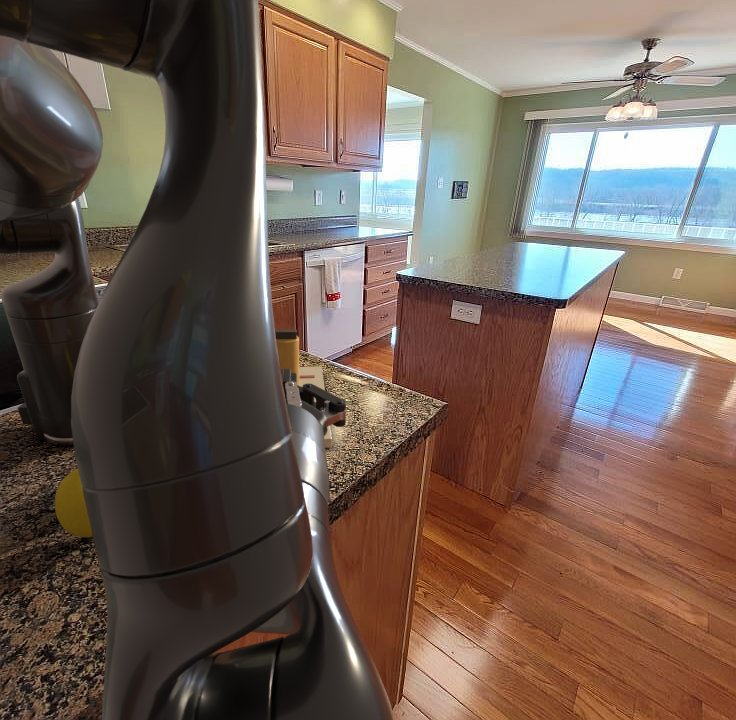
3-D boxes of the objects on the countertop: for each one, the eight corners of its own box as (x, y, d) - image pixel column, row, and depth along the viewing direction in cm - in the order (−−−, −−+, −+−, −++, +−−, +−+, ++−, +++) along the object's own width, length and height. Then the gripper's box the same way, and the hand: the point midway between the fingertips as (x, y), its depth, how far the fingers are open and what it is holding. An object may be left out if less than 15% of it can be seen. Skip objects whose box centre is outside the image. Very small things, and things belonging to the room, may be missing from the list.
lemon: (102, 561, 37) (83, 493, 33) (51, 549, 37) (28, 481, 34) (145, 517, 42) (131, 454, 38) (99, 507, 42) (82, 445, 39)
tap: (240, 425, 55) (232, 336, 50) (244, 409, 59) (237, 325, 54) (302, 422, 57) (301, 336, 51) (302, 407, 61) (301, 325, 55)
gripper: (366, 427, 30) (342, 345, 45) (178, 436, 27) (221, 346, 43) (361, 505, 33) (340, 402, 48) (192, 519, 30) (227, 406, 46)
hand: (284, 376), depth 46 cm, fingers closed
